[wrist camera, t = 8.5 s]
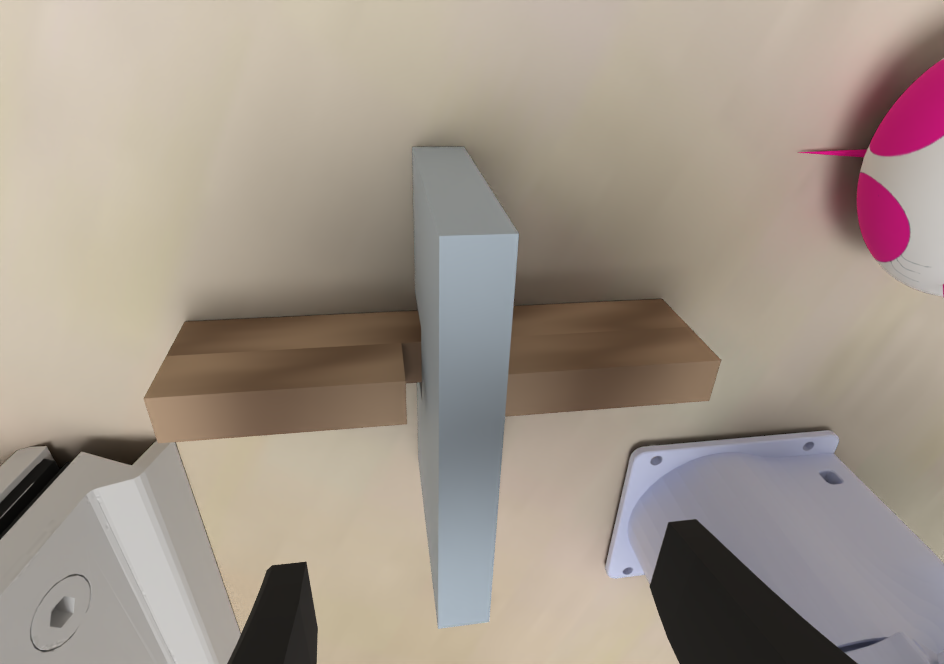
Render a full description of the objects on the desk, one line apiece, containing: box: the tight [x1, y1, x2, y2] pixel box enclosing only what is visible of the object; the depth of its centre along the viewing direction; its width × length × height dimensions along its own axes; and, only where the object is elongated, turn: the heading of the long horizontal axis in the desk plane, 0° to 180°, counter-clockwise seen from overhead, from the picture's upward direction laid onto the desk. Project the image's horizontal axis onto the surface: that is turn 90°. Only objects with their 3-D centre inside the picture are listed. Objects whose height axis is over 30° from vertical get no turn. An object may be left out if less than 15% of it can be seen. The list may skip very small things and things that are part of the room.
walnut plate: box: [144, 299, 721, 443], centre depth 18 cm, size 16×2×4 cm, turn 88°
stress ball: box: [797, 58, 944, 297], centre depth 18 cm, size 8×8×7 cm
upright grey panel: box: [412, 147, 519, 629], centre depth 17 cm, size 2×12×7 cm, turn 178°
